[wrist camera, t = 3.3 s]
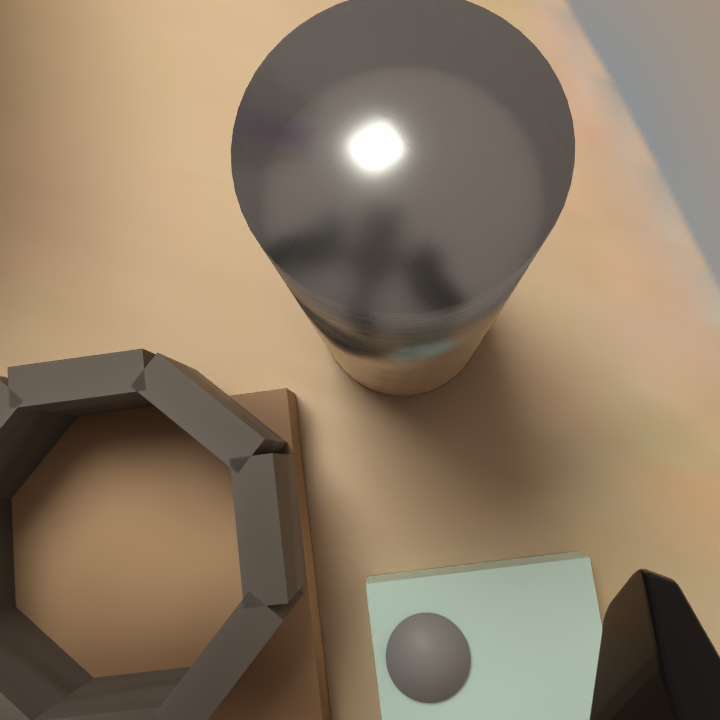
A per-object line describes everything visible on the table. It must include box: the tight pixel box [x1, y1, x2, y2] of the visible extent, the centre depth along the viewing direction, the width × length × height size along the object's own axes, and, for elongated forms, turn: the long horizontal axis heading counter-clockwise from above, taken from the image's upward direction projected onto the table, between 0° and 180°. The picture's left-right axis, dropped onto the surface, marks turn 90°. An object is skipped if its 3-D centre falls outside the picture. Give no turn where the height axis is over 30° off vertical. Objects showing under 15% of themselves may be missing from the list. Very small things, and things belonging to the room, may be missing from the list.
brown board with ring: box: [0, 349, 331, 720], centre depth 17 cm, size 17×9×4 cm, turn 7°
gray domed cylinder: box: [231, 0, 575, 396], centre depth 15 cm, size 5×5×11 cm
